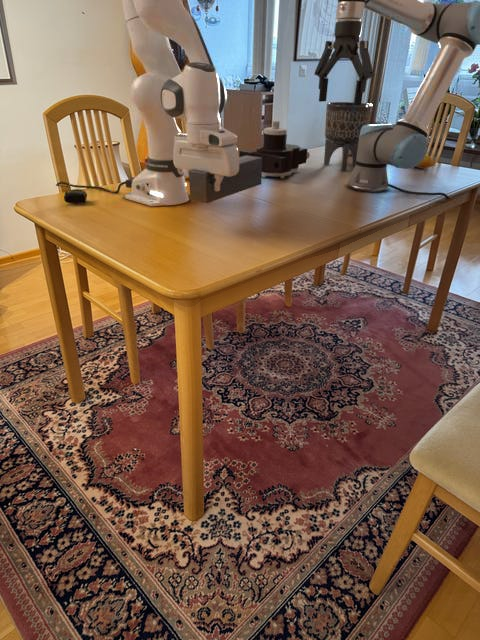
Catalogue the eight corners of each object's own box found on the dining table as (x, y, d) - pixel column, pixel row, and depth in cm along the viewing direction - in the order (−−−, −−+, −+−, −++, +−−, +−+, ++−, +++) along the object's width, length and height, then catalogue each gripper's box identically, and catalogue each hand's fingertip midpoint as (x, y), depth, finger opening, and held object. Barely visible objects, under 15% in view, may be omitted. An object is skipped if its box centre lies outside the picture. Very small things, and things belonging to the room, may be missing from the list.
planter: (313, 167, 208) (319, 103, 195) (331, 160, 222) (338, 101, 209) (353, 173, 199) (362, 107, 185) (369, 166, 213) (379, 104, 199)
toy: (410, 161, 206) (404, 154, 219) (412, 175, 209) (406, 167, 222) (436, 153, 203) (428, 146, 216) (438, 167, 206) (430, 160, 219)
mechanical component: (240, 120, 182) (283, 115, 202) (239, 174, 192) (280, 164, 212) (283, 126, 170) (325, 120, 190) (280, 183, 180) (320, 171, 200)
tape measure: (64, 205, 148) (62, 194, 146) (68, 199, 154) (66, 188, 152) (86, 205, 149) (84, 193, 147) (89, 199, 155) (87, 188, 153)
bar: (245, 181, 143) (246, 155, 139) (261, 184, 140) (261, 157, 136) (190, 200, 125) (188, 170, 121) (206, 203, 122) (205, 173, 118)
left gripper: (166, 132, 120) (170, 185, 127) (227, 139, 110) (228, 196, 117) (182, 130, 125) (185, 181, 131) (242, 136, 114) (242, 191, 121)
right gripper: (307, 21, 135) (301, 100, 146) (378, 18, 119) (365, 107, 130) (323, 23, 139) (316, 99, 150) (394, 20, 123) (380, 105, 134)
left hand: (205, 188), depth 124 cm, fingers closed on bar, 6 cm apart
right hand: (339, 103), depth 140 cm, fingers open, 13 cm apart
